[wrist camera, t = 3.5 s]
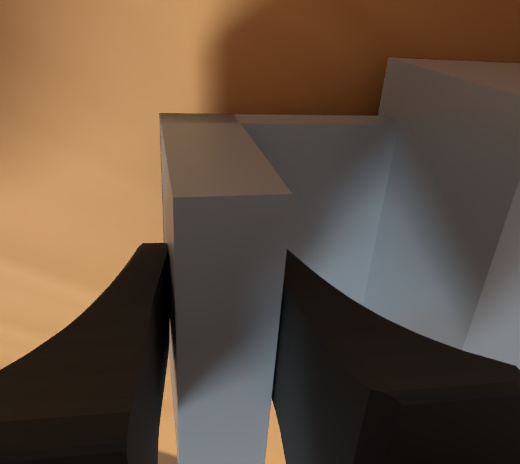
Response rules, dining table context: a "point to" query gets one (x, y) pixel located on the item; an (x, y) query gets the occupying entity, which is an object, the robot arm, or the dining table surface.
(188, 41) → the dining table surface
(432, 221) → the grey stepped block
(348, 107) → the dining table surface
